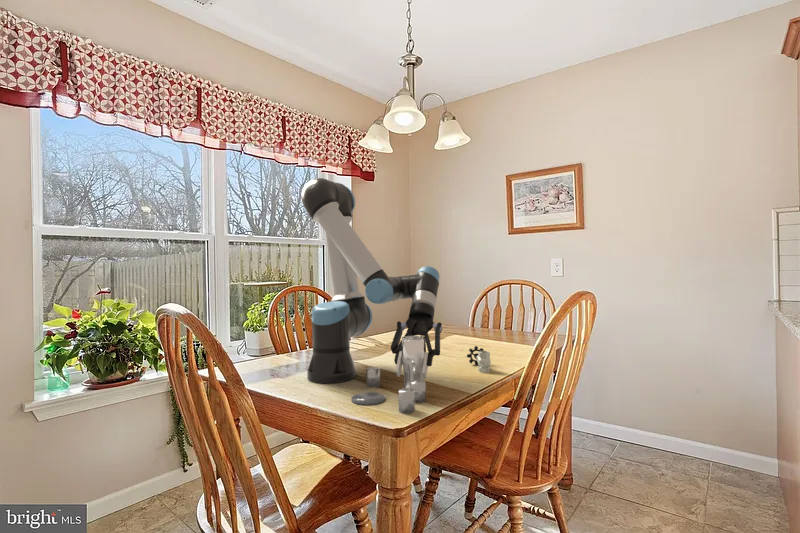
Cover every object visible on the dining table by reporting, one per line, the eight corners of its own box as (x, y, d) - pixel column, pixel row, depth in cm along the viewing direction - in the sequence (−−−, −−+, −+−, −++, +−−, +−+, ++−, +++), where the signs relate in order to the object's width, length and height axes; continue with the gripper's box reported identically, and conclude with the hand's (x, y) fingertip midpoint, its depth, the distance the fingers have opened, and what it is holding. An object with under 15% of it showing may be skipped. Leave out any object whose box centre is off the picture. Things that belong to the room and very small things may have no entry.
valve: (496, 373, 142) (485, 364, 154) (495, 352, 142) (485, 345, 154) (476, 373, 141) (466, 365, 153) (475, 353, 141) (466, 346, 153)
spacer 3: (408, 402, 114) (408, 383, 113) (412, 398, 117) (412, 379, 117) (423, 403, 112) (423, 384, 112) (427, 399, 116) (426, 380, 116)
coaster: (346, 403, 113) (346, 401, 113) (358, 393, 122) (358, 391, 122) (379, 406, 111) (379, 403, 111) (389, 395, 120) (389, 393, 120)
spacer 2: (396, 412, 106) (396, 392, 106) (400, 407, 110) (400, 387, 110) (412, 414, 105) (412, 393, 105) (416, 408, 109) (416, 388, 109)
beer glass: (418, 396, 119) (418, 340, 118) (396, 392, 122) (396, 338, 122) (430, 389, 125) (430, 336, 124) (409, 385, 128) (409, 334, 128)
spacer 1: (364, 386, 128) (364, 369, 128) (369, 383, 132) (369, 366, 132) (377, 387, 127) (377, 370, 127) (381, 383, 131) (381, 367, 131)
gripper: (455, 316, 135) (448, 384, 120) (394, 315, 141) (379, 379, 125) (453, 301, 130) (444, 369, 115) (389, 300, 135) (373, 365, 120)
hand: (410, 374), depth 120 cm, fingers closed on beer glass, 7 cm apart
